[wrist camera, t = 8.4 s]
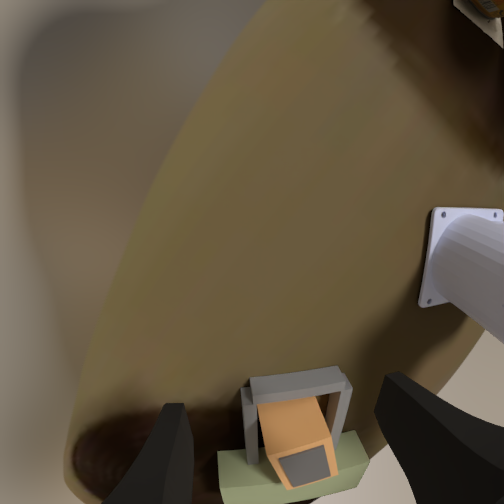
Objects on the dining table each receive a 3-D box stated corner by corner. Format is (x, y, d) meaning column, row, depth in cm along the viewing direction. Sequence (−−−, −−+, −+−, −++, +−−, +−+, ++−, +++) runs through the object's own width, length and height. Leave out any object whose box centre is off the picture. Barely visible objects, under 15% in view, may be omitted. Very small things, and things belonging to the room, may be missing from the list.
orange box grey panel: (308, 381, 23) (332, 438, 17) (320, 426, 25) (339, 476, 19) (255, 397, 22) (267, 458, 17) (275, 440, 25) (287, 492, 19)
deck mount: (375, 357, 23) (400, 391, 18) (344, 458, 28) (356, 487, 23) (203, 380, 21) (203, 425, 17) (223, 477, 26) (226, 509, 22)
